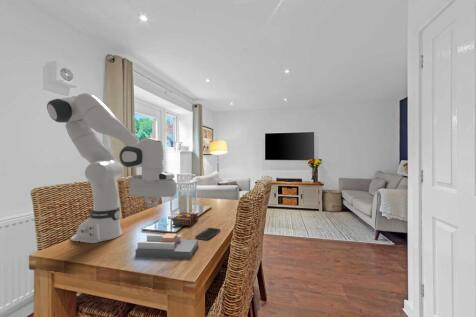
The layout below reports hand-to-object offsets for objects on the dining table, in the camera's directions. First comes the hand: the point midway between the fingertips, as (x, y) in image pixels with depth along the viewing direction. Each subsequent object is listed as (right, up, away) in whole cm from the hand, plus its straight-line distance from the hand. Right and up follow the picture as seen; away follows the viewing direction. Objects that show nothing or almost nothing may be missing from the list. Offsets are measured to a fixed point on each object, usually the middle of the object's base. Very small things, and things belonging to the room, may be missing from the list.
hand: (152, 206), depth 92 cm
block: (+8, -17, 0) cm, 18 cm away
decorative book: (+5, -19, +38) cm, 43 cm away
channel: (+7, -19, 0) cm, 20 cm away
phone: (+22, -20, +19) cm, 35 cm away
